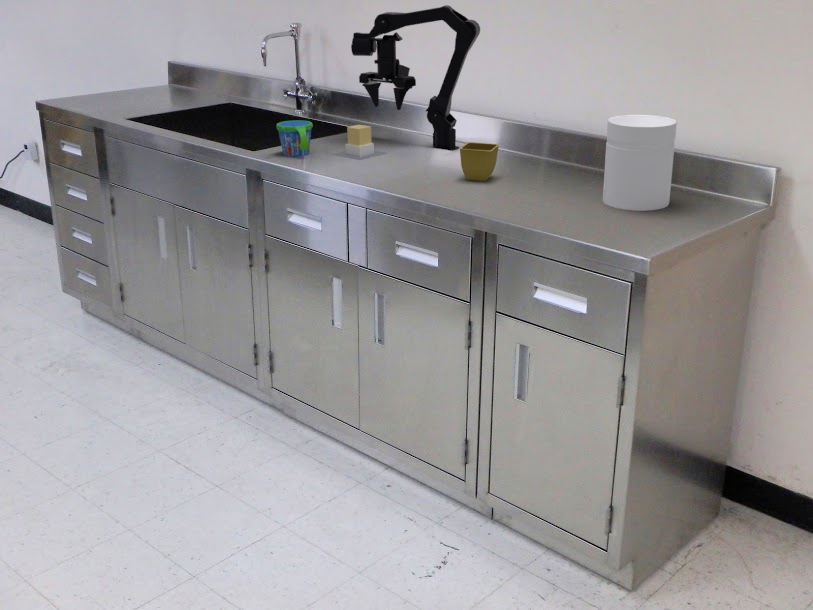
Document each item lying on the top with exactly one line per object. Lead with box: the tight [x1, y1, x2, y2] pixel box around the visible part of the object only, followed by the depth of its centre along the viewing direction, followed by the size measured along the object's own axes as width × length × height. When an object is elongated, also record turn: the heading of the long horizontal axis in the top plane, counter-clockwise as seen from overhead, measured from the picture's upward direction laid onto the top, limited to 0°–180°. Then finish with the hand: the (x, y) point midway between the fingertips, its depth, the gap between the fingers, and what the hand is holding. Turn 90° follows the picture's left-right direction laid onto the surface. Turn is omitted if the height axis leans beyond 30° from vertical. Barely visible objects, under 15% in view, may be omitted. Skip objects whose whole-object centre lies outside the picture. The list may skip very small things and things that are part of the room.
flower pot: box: [459, 141, 500, 182], centre depth 255 cm, size 9×9×9 cm
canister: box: [602, 114, 678, 212], centre depth 229 cm, size 16×16×20 cm
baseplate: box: [331, 149, 387, 161], centre depth 283 cm, size 12×12×1 cm
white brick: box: [344, 142, 375, 157], centre depth 282 cm, size 6×6×3 cm
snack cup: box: [276, 119, 314, 158], centre depth 282 cm, size 16×10×10 cm
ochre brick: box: [346, 124, 373, 146], centre depth 280 cm, size 5×5×5 cm
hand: (387, 108), depth 291 cm, fingers open, 9 cm apart
